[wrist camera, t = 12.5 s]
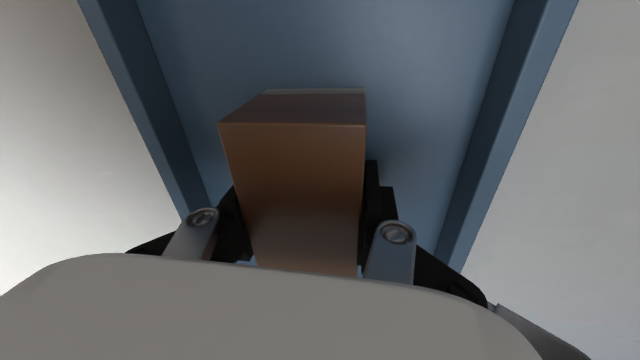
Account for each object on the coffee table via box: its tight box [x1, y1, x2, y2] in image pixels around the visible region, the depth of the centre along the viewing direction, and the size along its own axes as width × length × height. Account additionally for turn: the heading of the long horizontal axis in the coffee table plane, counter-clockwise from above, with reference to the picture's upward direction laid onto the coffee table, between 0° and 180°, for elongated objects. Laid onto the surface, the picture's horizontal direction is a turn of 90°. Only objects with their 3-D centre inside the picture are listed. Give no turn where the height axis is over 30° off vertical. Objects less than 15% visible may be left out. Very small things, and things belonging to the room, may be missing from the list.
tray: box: [77, 0, 579, 278], centre depth 13 cm, size 22×16×2 cm
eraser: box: [217, 88, 367, 277], centre depth 11 cm, size 9×4×4 cm, turn 2°
